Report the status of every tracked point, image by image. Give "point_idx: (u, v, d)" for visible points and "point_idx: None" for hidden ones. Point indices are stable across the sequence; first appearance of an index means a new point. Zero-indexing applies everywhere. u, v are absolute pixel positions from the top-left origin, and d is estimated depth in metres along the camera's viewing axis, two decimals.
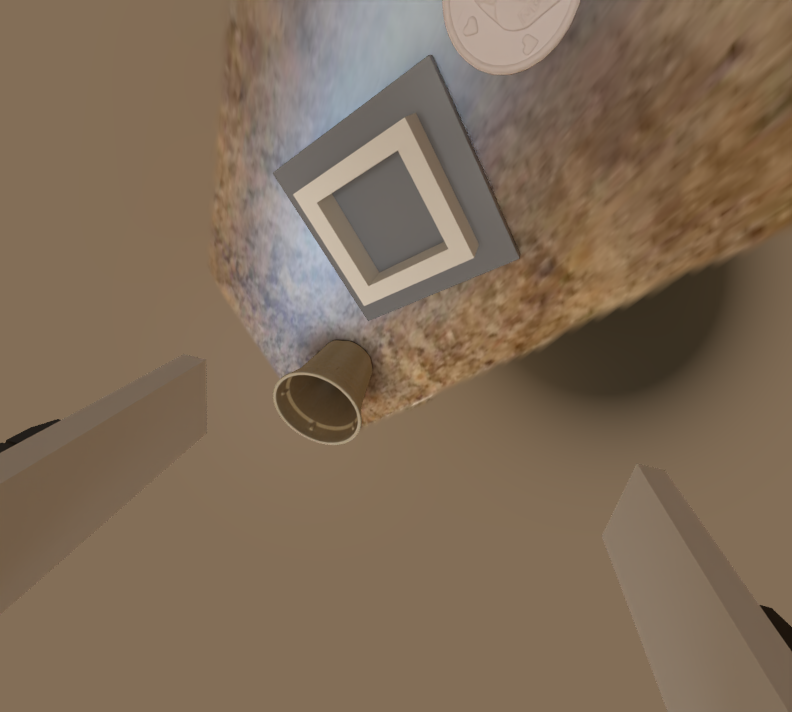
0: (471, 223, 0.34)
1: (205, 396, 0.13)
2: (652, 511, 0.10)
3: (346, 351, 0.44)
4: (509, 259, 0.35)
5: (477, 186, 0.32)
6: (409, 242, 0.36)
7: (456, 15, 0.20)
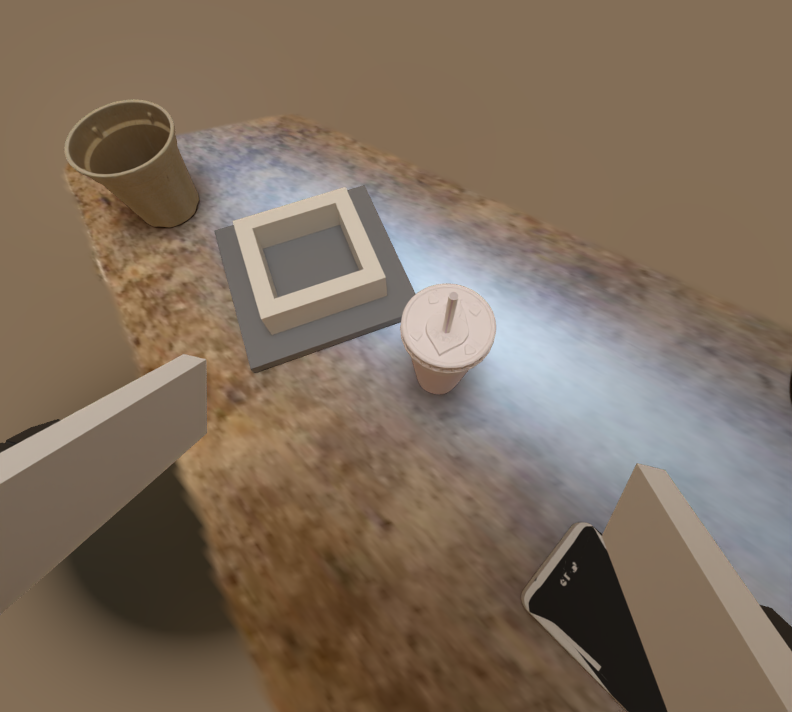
0: (292, 329, 0.37)
1: (204, 396, 0.13)
2: (652, 511, 0.10)
3: (184, 201, 0.42)
4: (251, 360, 0.36)
5: (323, 336, 0.37)
6: (285, 278, 0.39)
7: (441, 291, 0.28)
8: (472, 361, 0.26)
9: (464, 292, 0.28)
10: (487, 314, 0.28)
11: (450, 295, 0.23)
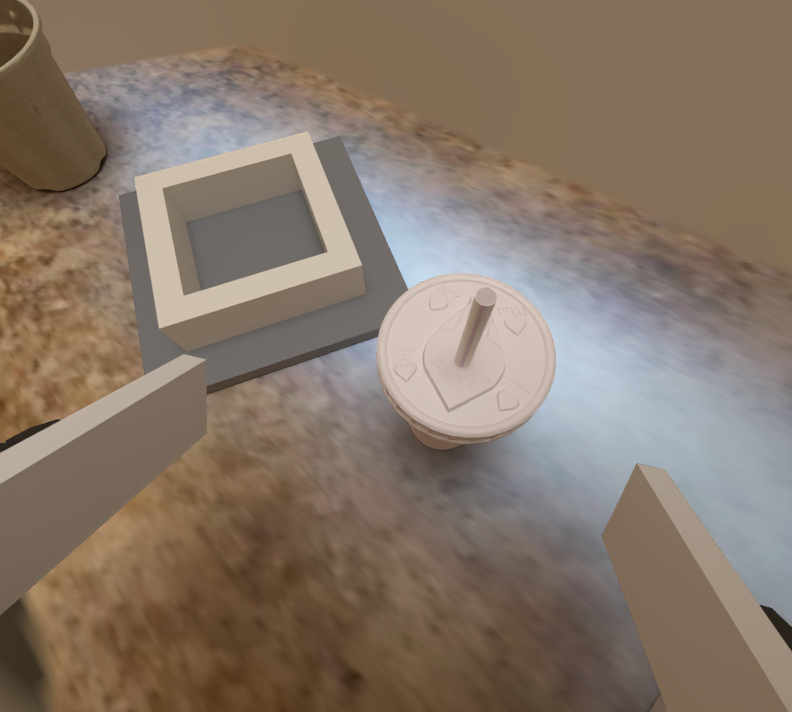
0: (219, 344, 0.24)
1: (205, 396, 0.13)
2: (652, 511, 0.10)
3: (76, 152, 0.29)
4: None
5: (265, 354, 0.24)
6: (216, 265, 0.26)
7: (452, 287, 0.15)
8: (513, 425, 0.13)
9: (494, 289, 0.15)
10: (538, 331, 0.15)
11: (479, 295, 0.10)
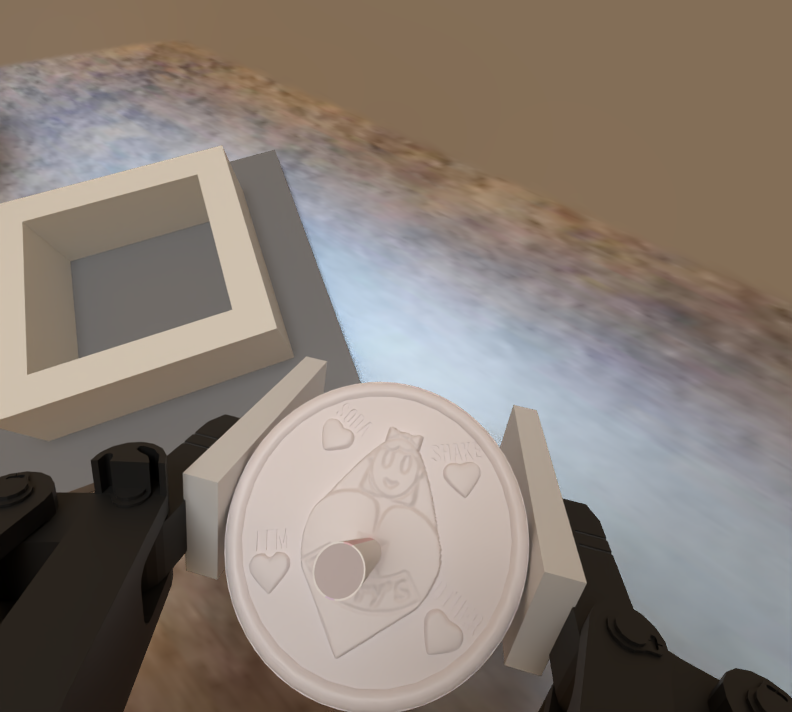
0: (93, 430, 0.18)
1: None
2: (514, 439, 0.12)
3: None
4: None
5: None
6: (102, 318, 0.20)
7: (363, 407, 0.10)
8: (450, 688, 0.07)
9: (430, 411, 0.10)
10: (500, 490, 0.09)
11: (322, 566, 0.04)
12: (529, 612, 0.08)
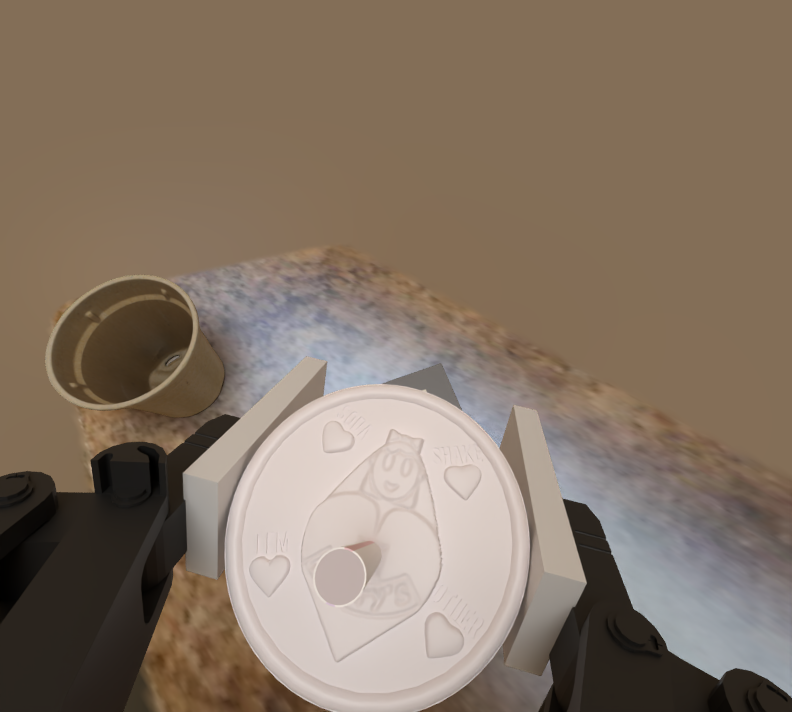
0: None
1: (321, 395, 0.15)
2: (514, 439, 0.12)
3: (207, 391, 0.31)
4: None
5: None
6: None
7: (363, 410, 0.10)
8: (450, 691, 0.07)
9: (430, 413, 0.10)
10: (501, 493, 0.09)
11: (322, 572, 0.04)
12: (529, 612, 0.08)
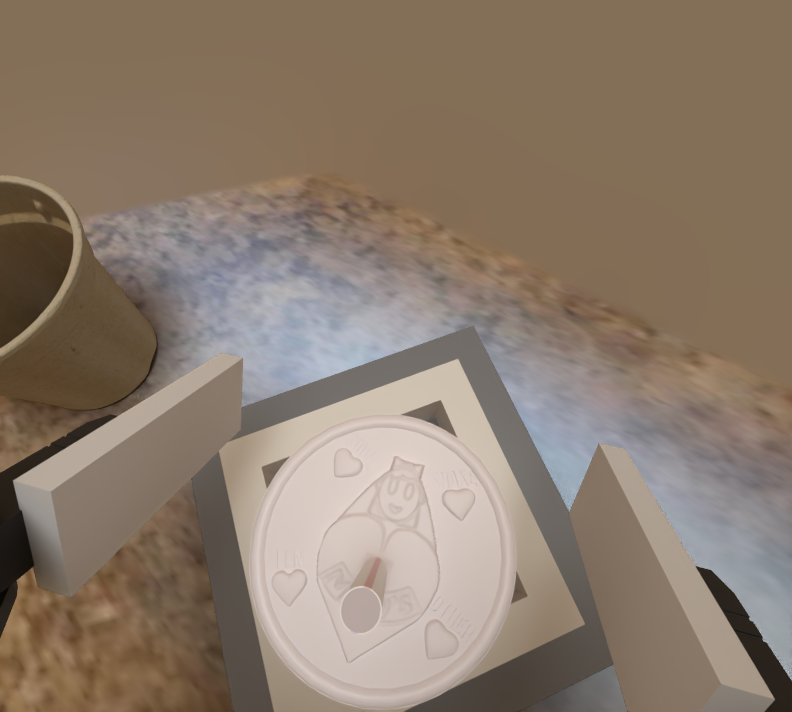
0: None
1: (240, 394, 0.14)
2: (609, 485, 0.11)
3: (122, 369, 0.21)
4: None
5: None
6: None
7: (370, 438, 0.11)
8: (446, 687, 0.09)
9: (430, 441, 0.11)
10: (492, 514, 0.10)
11: (347, 606, 0.05)
12: None
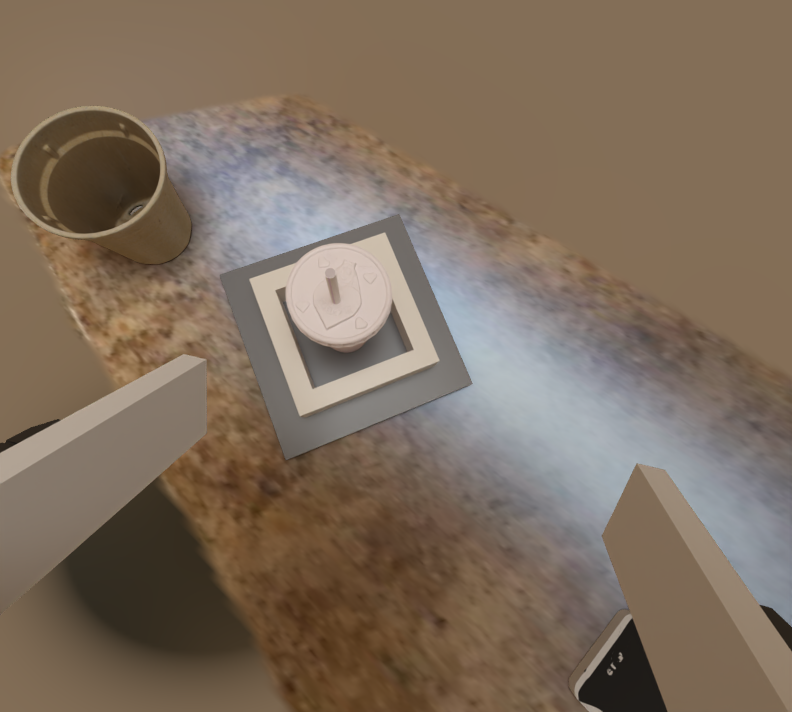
0: (328, 410, 0.33)
1: (205, 396, 0.13)
2: (652, 511, 0.10)
3: (177, 236, 0.33)
4: (285, 449, 0.32)
5: (364, 418, 0.33)
6: (314, 342, 0.34)
7: (333, 252, 0.25)
8: (362, 337, 0.24)
9: (359, 254, 0.25)
10: (383, 282, 0.25)
11: (326, 272, 0.20)
12: None
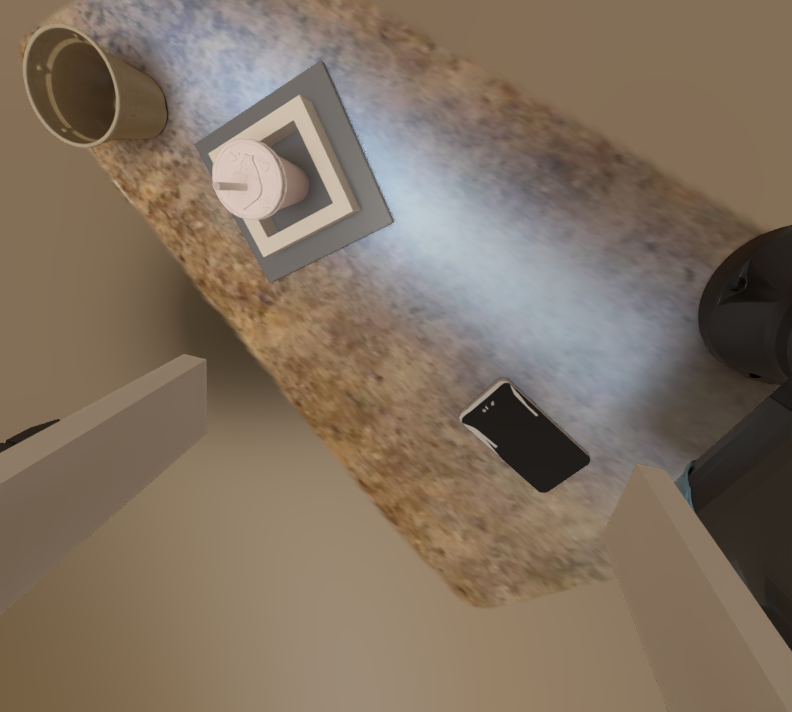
0: (290, 248, 0.46)
1: (205, 396, 0.13)
2: (652, 511, 0.10)
3: (154, 116, 0.42)
4: (267, 275, 0.48)
5: (315, 253, 0.46)
6: None
7: (237, 147, 0.34)
8: (267, 213, 0.35)
9: (254, 147, 0.34)
10: (274, 169, 0.34)
11: (214, 185, 0.31)
12: None
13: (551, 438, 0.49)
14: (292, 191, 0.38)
